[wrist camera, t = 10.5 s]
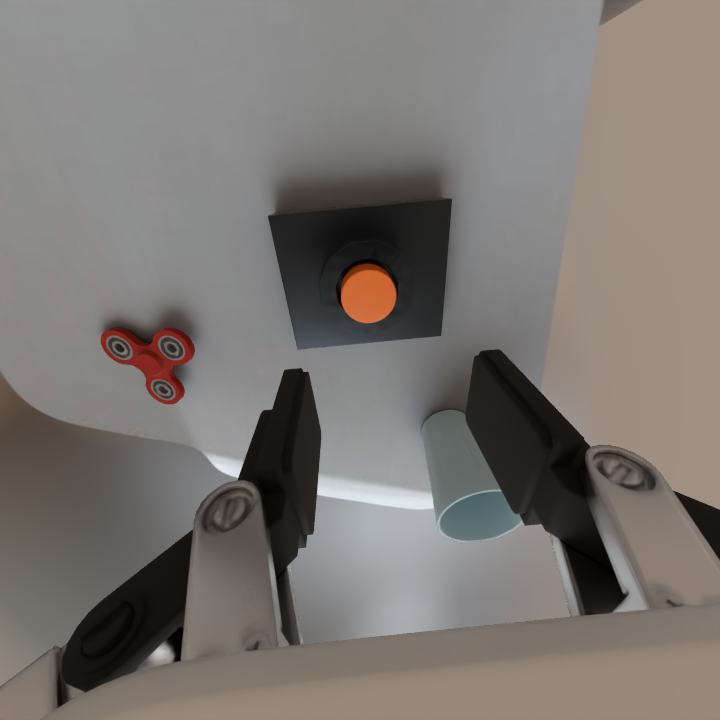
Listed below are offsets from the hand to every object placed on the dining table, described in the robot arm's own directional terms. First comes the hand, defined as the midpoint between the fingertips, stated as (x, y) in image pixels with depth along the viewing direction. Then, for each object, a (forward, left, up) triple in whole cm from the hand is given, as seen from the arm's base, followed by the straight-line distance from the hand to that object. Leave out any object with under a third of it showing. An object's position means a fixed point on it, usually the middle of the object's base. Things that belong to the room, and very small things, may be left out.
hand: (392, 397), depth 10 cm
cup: (-8, +18, -16) cm, 25 cm away
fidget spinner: (+19, +5, -14) cm, 24 cm away
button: (0, 0, -12) cm, 12 cm away
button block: (0, 0, -15) cm, 15 cm away
